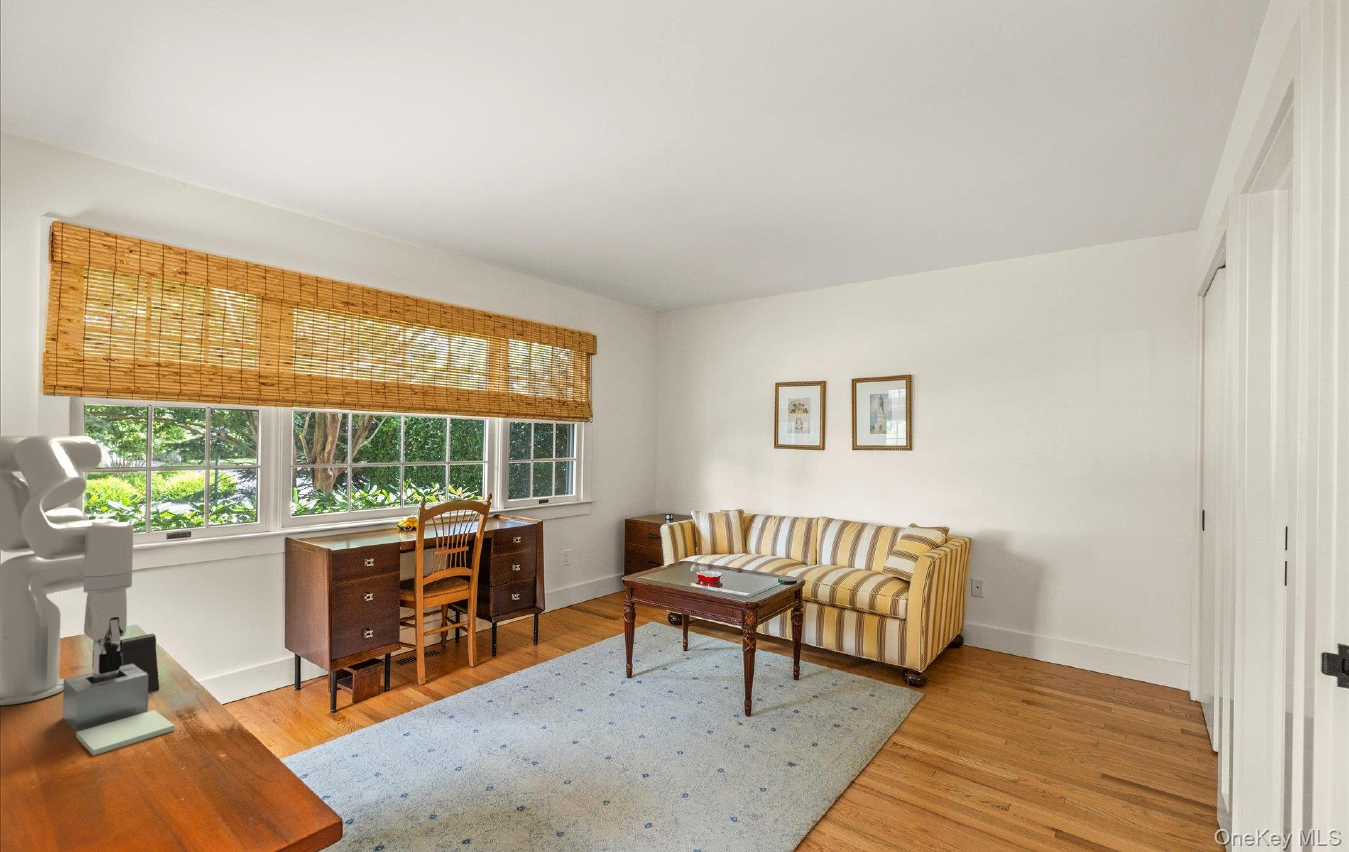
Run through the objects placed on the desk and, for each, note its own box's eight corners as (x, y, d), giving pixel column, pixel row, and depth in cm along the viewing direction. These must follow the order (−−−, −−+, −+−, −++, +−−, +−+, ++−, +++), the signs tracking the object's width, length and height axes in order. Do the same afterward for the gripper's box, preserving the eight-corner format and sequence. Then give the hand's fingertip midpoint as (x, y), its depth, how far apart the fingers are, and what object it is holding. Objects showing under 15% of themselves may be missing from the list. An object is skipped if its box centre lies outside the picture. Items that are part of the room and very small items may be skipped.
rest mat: (76, 737, 119) (76, 731, 119) (154, 714, 129) (154, 709, 129) (93, 755, 113) (93, 750, 113) (174, 730, 122) (174, 725, 122)
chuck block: (62, 717, 128) (63, 679, 128) (131, 699, 137) (132, 663, 137) (76, 732, 121) (77, 691, 121) (147, 712, 130) (148, 674, 130)
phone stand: (114, 688, 143) (115, 636, 143) (147, 680, 147) (148, 630, 148) (125, 698, 137) (126, 644, 138) (159, 689, 142) (160, 637, 142)
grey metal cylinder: (89, 699, 129) (91, 641, 129) (114, 692, 132) (116, 636, 132) (94, 704, 126) (96, 645, 127) (120, 697, 130) (122, 640, 130)
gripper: (73, 579, 131) (71, 665, 131) (95, 591, 122) (92, 684, 121) (119, 573, 137) (117, 655, 137) (143, 584, 128) (141, 672, 128)
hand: (106, 668), depth 129 cm, fingers closed on grey metal cylinder, 4 cm apart
